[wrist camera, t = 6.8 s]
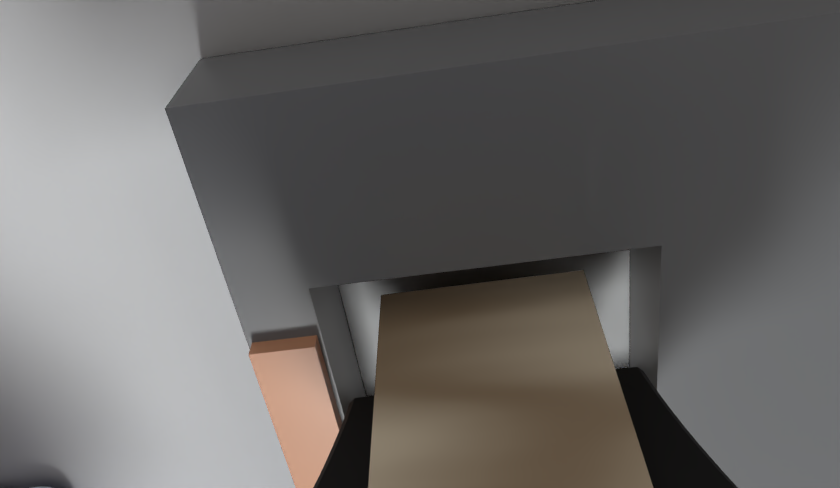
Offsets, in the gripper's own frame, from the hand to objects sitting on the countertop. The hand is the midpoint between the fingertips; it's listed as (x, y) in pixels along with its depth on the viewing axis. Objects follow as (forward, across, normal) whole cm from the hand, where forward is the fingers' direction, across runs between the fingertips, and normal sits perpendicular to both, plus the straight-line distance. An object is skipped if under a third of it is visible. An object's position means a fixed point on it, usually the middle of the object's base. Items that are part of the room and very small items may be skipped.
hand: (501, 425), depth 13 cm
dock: (+3, -2, +4) cm, 5 cm away
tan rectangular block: (+2, 0, 0) cm, 2 cm away
